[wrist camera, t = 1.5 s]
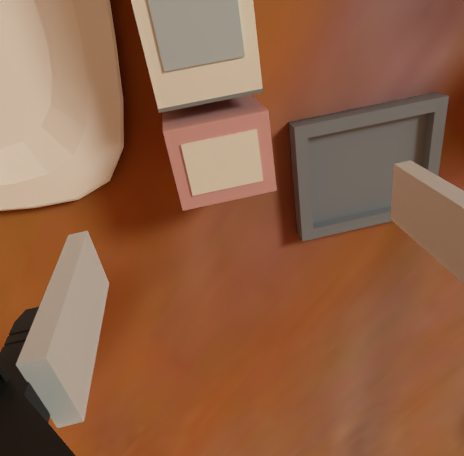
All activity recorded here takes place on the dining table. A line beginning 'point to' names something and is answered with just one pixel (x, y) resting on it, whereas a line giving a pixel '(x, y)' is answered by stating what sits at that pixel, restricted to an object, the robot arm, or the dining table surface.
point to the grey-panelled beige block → (199, 50)
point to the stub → (220, 151)
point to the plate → (57, 101)
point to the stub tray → (360, 161)
